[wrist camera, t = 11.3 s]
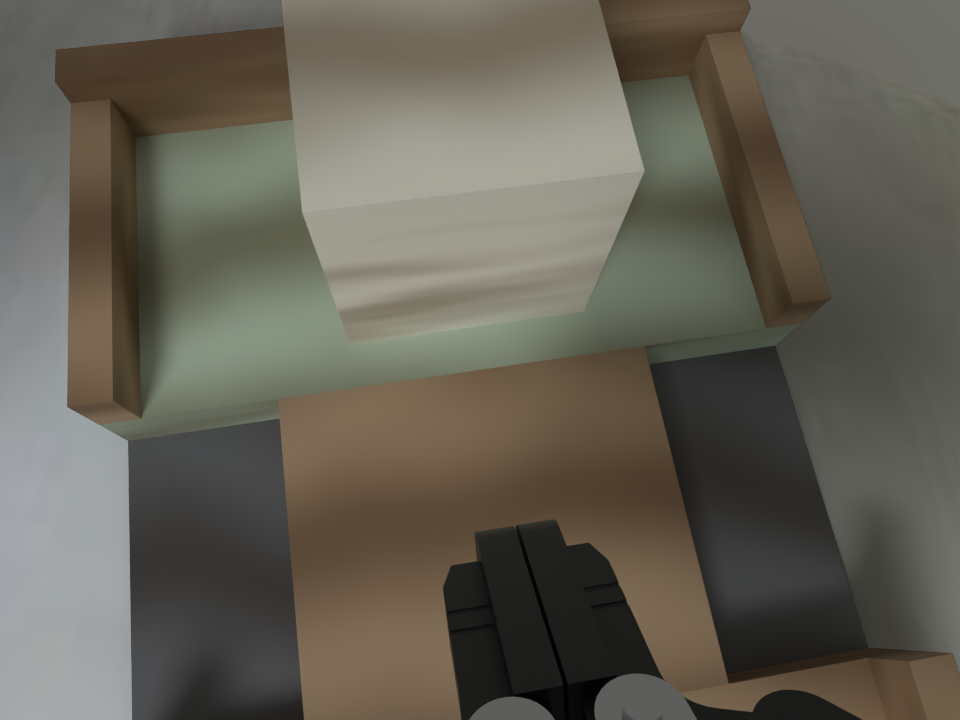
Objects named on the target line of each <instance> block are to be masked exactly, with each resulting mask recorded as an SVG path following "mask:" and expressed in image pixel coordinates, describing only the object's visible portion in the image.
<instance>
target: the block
mask: <svg viewBox="0 0 960 720" xmlns="http://www.w3.org/2000/svg"><path fill="white" fill-rule="evenodd" d="M281 3H282V13H283V23H284V33H285V44H286V54H287V64H288V74H289V84H290V94H291V104H292V115H293V125H294V135H295V145H296V155H297V165H298V175H299V186H300V196H301V206H302V214H303V216H304V219H305V222H306V225H307V227H308V230H309V233H310V236H311V238H312V241H313V244H314V247H315V249H316V252H317V255H318V258H319V260H320V263H321V266H322V269H323V271H324V274H325V277H326V280H327V282H328V285H329V288H330V291H331V293H332V296H333V299H334V302H335V304H336V307H337V310H338V313H339V315H340V318H341V321H342V324H343V326H344V329H345V332H346V335H347V337H348V340H349V343H350V344H353V343H360V342H367V341H374V340H381V339H389V338H396V337H403V336H410V335H418V334H425V333H432V332H439V331H447V330H454V329H461V328H468V327H476V326H483V325H490V324H497V323H504V322H512V321H519V320H526V319H533V318H541V317H548V316H555V315H562V314H570V313H577V312H584V310H585V308H586V305H587V303H588V301H589V298H590V296H591V294H592V291H593V289H594V287H595V285H596V282H597V280H598V278H599V275H600V273H601V271H602V268H603V266H604V264H605V261H606V259H607V257H608V254H609V252H610V250H611V247H612V245H613V243H614V241H615V238H616V236H617V234H618V231H619V229H620V227H621V224H622V222H623V220H624V217H625V215H626V213H627V210H628V208H629V206H630V204H631V201H632V199H633V197H634V194H635V192H636V190H637V187H638V185H639V183H640V180H641V178H642V176H643V173H644V167H643V163H642V159H641V156H640V152H639V148H638V145H637V141H636V137H635V133H634V130H633V126H632V122H631V119H630V115H629V111H628V107H627V104H626V100H625V96H624V93H623V89H622V85H621V82H620V78H619V74H618V70H617V67H616V63H615V59H614V56H613V52H612V48H611V44H610V41H609V37H608V33H607V30H606V26H605V22H604V18H603V15H602V11H601V7H600V4H599V0H281Z"/></svg>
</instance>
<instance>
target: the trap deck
mask: <svg viewBox="0 0 960 720" xmlns="http://www.w3.org/2000/svg"><path fill="white" fill-rule="evenodd" d="M599 4H600V7H601V11H602V15H603V18H604V22H605V26H606V30H607V33H608V37H609V41H610V44H611V48H612V52H613V56H614V59H615V63H616V67H617V70H618V74H619V78H620V82H621V85H622V89H623V93H624V96H625V100H626V104H627V107H628V111H629V115H630V119H631V122H632V126H633V130H634V133H635V137H636V141H637V145H638V148H639V152H640V156H641V159H642V163H643V167H644V173H643V176H642V178H641V180H640V183H639V185H638V187H637V190H636V192H635V194H634V197H633V199H632V201H631V204H630V206H629V208H628V210H627V213H626V215H625V217H624V220H623V222H622V224H621V227H620V229H619V231H618V234H617V236H616V238H615V241H614V243H613V245H612V247H611V250H610V252H609V254H608V257H607V259H606V261H605V264H604V266H603V268H602V271H601V273H600V275H599V278H598V280H597V282H596V285H595V287H594V289H593V291H592V294H591V296H590V298H589V301H588V303H587V305H586V308H585V310H584V312H577V313H570V314H562V315H555V316H548V317H541V318H533V319H526V320H519V321H512V322H504V323H497V324H490V325H483V326H476V327H468V328H461V329H454V330H447V331H439V332H432V333H425V334H418V335H410V336H403V337H396V338H389V339H381V340H374V341H367V342H360V343H353V344H350V343H349V340H348V337H347V335H346V332H345V329H344V326H343V324H342V321H341V318H340V315H339V313H338V310H337V307H336V304H335V302H334V299H333V296H332V293H331V291H330V288H329V285H328V282H327V280H326V277H325V274H324V271H323V269H322V266H321V263H320V260H319V258H318V255H317V252H316V249H315V247H314V244H313V241H312V238H311V236H310V233H309V230H308V227H307V225H306V222H305V219H304V216H303V214H302V206H301V196H300V186H299V175H298V165H297V155H296V145H295V135H294V125H293V115H292V104H291V94H290V84H289V74H288V64H287V54H286V44H285V33H284V27H276V28H266V29H256V30H246V31H236V32H227V33H217V34H207V35H197V36H187V37H177V38H168V39H158V40H148V41H138V42H128V43H119V44H109V45H99V46H89V47H79V48H70V49H60V50H56V67H55V82H56V84H57V85H58V86H59V88H60V89H61V90H62V92H63V93H64V95H65V96H66V97H67V99H68V100H69V101H70V103H71V143H70V227H69V311H68V395H67V407H68V408H70V409H72V410H74V411H76V412H77V413H79V414H81V415H83V416H85V417H86V418H88V419H90V420H92V421H94V422H95V423H97V424H99V425H101V426H103V427H104V428H106V429H108V430H110V431H112V432H113V433H115V434H117V435H119V436H120V437H122V438H124V439H126V440H128V455H129V523H130V591H131V658H132V720H461V714H460V707H459V701H458V694H457V688H456V681H455V674H454V668H453V662H452V655H451V649H450V641H449V633H448V625H447V618H446V610H445V602H444V594H443V586H444V583H445V580H446V578H447V575H448V572H449V570H450V567H451V565H457V564H463V563H469V562H475V561H477V556H476V546H475V532H478V531H484V530H490V529H497V528H503V527H509V526H514V527H515V530H516V525H520V524H526V523H533V522H539V521H545V520H551V519H555V520H556V521H557V523H558V525H559V528H560V530H561V533H562V535H563V538H564V540H565V543H566V545H567V546H570V545H576V544H582V543H588V542H589V543H590V544H591V545H592V546H593V547H594V548H596V549H597V550H598V551H599V552H600V553H601V554H602V555H604V556H605V557H606V558H607V559H608V560H609V562H610V564H611V567H612V569H613V571H614V573H615V575H616V577H617V580H618V583H619V586H621V588H622V591H623V593H624V595H625V597H626V599H627V604H629V606H630V608H631V610H632V613H633V615H634V617H635V619H636V621H637V624H638V626H639V628H640V630H641V632H642V635H643V637H644V639H645V641H646V643H647V646H648V648H649V650H650V652H651V654H652V657H653V659H654V661H655V663H656V665H657V668H658V670H659V672H660V673H661V675H662V677H663V678H664V680H665V681H666V682H668V683H670V684H671V685H672V686H673V687H675V688H676V689H677V690H678V691H679V692H680V693H681V694H682V695H683V696H684V697H685V698H687V699H689V700H691V701H693V702H695V703H698V704H701V705H704V706H708V707H714V708H721V709H729V710H738V711H747V712H753V709H754V707H755V705H756V704H757V703H758V701H759V700H760V699H761V698H763V697H764V696H765V695H767V694H769V693H772V692H775V691H779V690H799V691H804V692H808V693H811V694H814V695H816V696H819V697H821V698H823V699H825V700H827V701H829V702H830V703H832V704H834V705H836V706H838V707H840V708H842V709H844V710H845V711H847V712H849V713H851V714H853V715H855V716H857V717H859V718H860V719H862V720H960V674H959V671H958V668H957V665H956V662H955V659H954V656H953V653H939V652H924V651H909V650H894V649H879V648H868V645H867V641H866V638H865V635H864V632H863V629H862V625H861V622H860V619H859V616H858V612H857V609H856V606H855V603H854V599H853V596H852V593H851V590H850V586H849V583H848V580H847V577H846V574H845V570H844V567H843V564H842V561H841V557H840V554H839V551H838V548H837V544H836V541H835V538H834V535H833V531H832V528H831V525H830V522H829V519H828V515H827V512H826V509H825V506H824V502H823V499H822V496H821V493H820V489H819V486H818V483H817V480H816V476H815V473H814V470H813V467H812V464H811V460H810V457H809V454H808V451H807V447H806V444H805V441H804V438H803V434H802V431H801V428H800V425H799V421H798V418H797V415H796V412H795V408H794V405H793V402H792V399H791V396H790V392H789V389H788V386H787V383H786V379H785V376H784V373H783V370H782V366H781V363H780V360H779V357H778V353H777V350H776V347H775V345H776V344H778V343H779V342H780V341H781V340H782V339H784V338H785V337H786V336H787V335H788V334H789V333H791V332H792V331H793V330H794V329H795V328H797V327H798V326H799V325H800V324H801V323H802V322H804V321H805V320H806V319H807V318H808V317H810V316H811V315H812V314H813V313H814V312H815V311H817V310H818V309H819V308H820V307H821V306H823V305H824V304H825V303H826V302H827V301H828V300H830V299H831V296H830V293H829V290H828V287H827V285H826V282H825V279H824V276H823V273H822V270H821V267H820V264H819V261H818V258H817V255H816V252H815V249H814V246H813V244H812V241H811V238H810V235H809V232H808V229H807V226H806V223H805V220H804V217H803V214H802V211H801V208H800V206H799V203H798V200H797V197H796V194H795V191H794V188H793V185H792V182H791V179H790V176H789V173H788V170H787V168H786V165H785V162H784V159H783V156H782V153H781V150H780V147H779V144H778V141H777V138H776V135H775V132H774V129H773V127H772V124H771V121H770V118H769V115H768V112H767V109H766V106H765V103H764V100H763V97H762V94H761V91H760V89H759V86H758V83H757V80H756V77H755V74H754V71H753V68H752V65H751V62H750V59H749V56H748V53H747V51H746V48H745V45H744V42H743V39H742V36H741V33H740V30H741V28H742V26H743V24H744V22H745V19H746V17H747V15H748V13H749V11H750V9H751V7H750V5H749V2H748V0H599Z"/></svg>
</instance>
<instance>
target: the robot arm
mask: <svg viewBox="0 0 960 720" xmlns="http://www.w3.org/2000/svg"><path fill="white" fill-rule="evenodd" d="M475 546H476V556H477V561H475V562H469V563H463V564H457V565H451V567H450V570H449V572H448V575H447V578H446V580H445V583H444V586H443V594H444V602H445V610H446V618H447V625H448V633H449V641H450V649H451V655H452V662H453V668H454V674H455V681H456V688H457V694H458V701H459V707H460V714H461V720H862V719H860V718H859V717H857V716H855V715H853V714H851V713H849V712H847V711H845V710H844V709H842V708H840V707H838V706H836V705H834V704H832V703H830V702H829V701H827V700H825V699H823V698H821V697H819V696H816V695H814V694H811V693H808V692H804V691H799V690H779V691H775V692H772V693H769V694H767V695H765V696H764V697H763V698H761V699H760V700H759V701H758V703H757V704H756V705H755V707H754V709H753V712H747V711H738V710H729V709H721V708H714V707H708V706H704V705H701V704H698V703H695V702H693V701H691V700H689V699H687V698H685V697H684V696H683V695H682V694H681V693H680V692H679V691H678V690H677V689H676V688H675V687H673V686H672V685H671V684H670V683H668V682H666V681H665V680H664V678H663V677H662V675H661V673H660V672H659V670H658V668H657V665H656V663H655V661H654V659H653V657H652V654H651V652H650V650H649V648H648V646H647V643H646V641H645V639H644V637H643V635H642V632H641V630H640V628H639V626H638V624H637V621H636V619H635V617H634V615H633V613H632V610H631V608H630V606H629V604H627V599H626V597H625V595H624V593H623V591H622V588H621V586H619V583H618V580H617V577H616V575H615V573H614V571H613V569H612V567H611V564H610V562H609V560H608V559H607V558H606V557H605V556H604V555H602V554H601V553H600V552H599V551H598V550H597V549H596V548H594V547H593V546H592V545H591V544H590V543H589V542H588V543H582V544H576V545H570V546H567V545H566V543H565V540H564V538H563V535H562V533H561V530H560V528H559V525H558V523H557V521H556V520H555V519H551V520H545V521H539V522H533V523H526V524H520V525H516V530H515V527H514V526H509V527H503V528H497V529H490V530H484V531H478V532H475Z"/></svg>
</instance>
